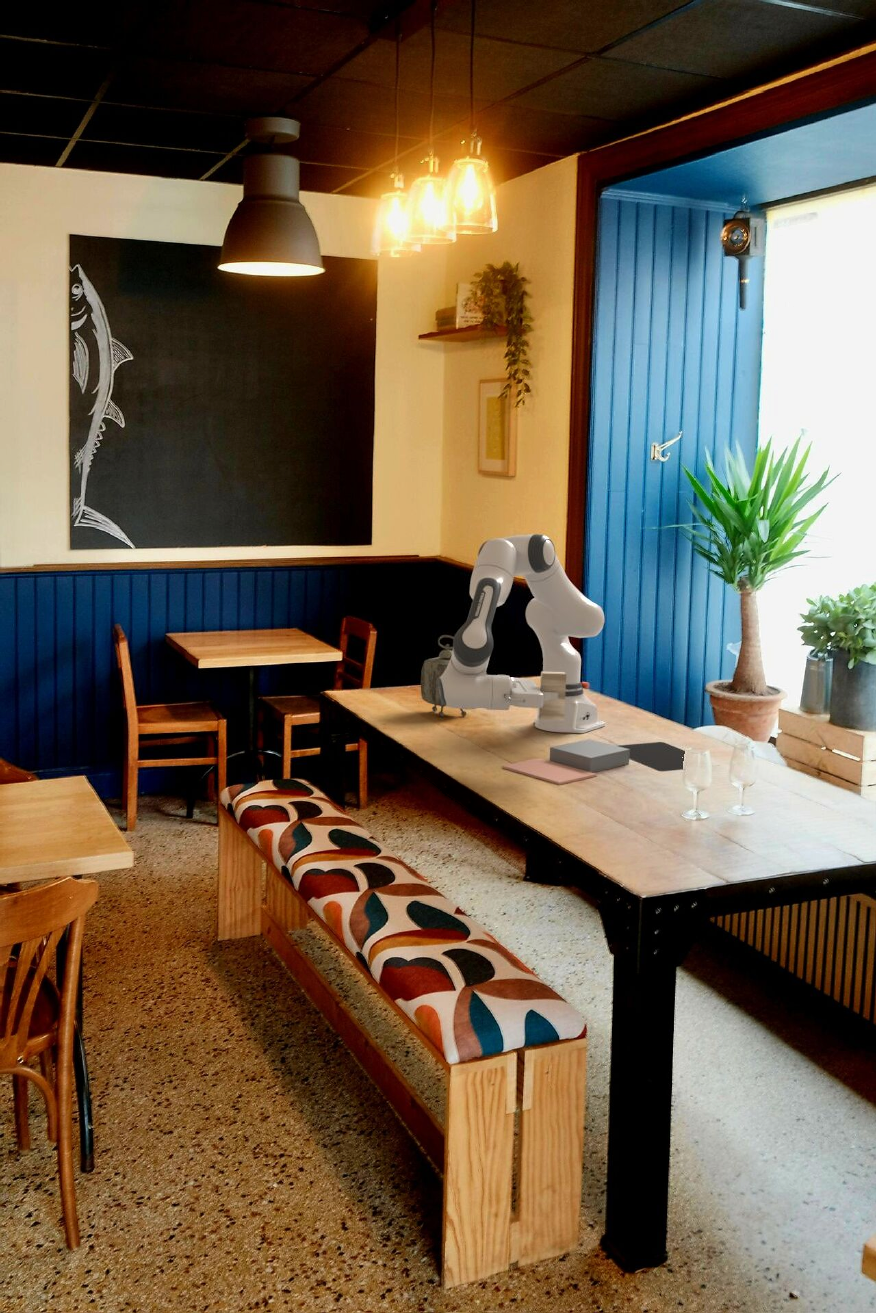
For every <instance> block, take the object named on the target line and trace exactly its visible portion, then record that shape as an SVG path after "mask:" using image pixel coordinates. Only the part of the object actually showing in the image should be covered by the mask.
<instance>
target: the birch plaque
mask: <svg viewBox="0 0 876 1313" xmlns="http://www.w3.org/2000/svg"><path fill="white" fill-rule="evenodd" d="M539 687H540V691H541V692H557V693H558V699H556V700H546V701H543V707H541V708H539V719H540V720H556V721H564V709H565V690H566V673H565V672H543V671H541V672H540V685H539Z"/></svg>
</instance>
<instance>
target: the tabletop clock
mask: <svg viewBox="0 0 876 1313" xmlns="http://www.w3.org/2000/svg"><path fill="white" fill-rule="evenodd" d="M443 638H450V639H452V640H453V639H454V636H452V635H448V634H443V635H440V637H439V638H438V639H437V644H438V646H439V647H441V648H442V649H443V650H441V651H440V652H439V655H438V656H437V657H433V658H428V659H425V660H424V662H423V663H422V664H423V665H422V667H421V674H420V696H421V699H422V700H423V701H424V702H426V703H428V704H430V705H434V706H432V708H431V709H432V711H433V712H437V710H438V707H437V706H439V707H440V711H439V712H438V716H439V717H443V716H444V711H443V710H444V708H445V707H447V706H445V705H443V704H442V702H441V700H440V698H439V693H438V679H439V677H441V676H442V674H443V673H444V671H445V670H446V668H447V666H448V664H449V661H450V659H451V656H452V650H453V646H450V644H448V643H447V644H445V645H442V644H441V643H440V640H442V639H443ZM447 708H448V707H447ZM459 710H460V711H461V713H460V715H461V716H462V717H465V716H466V715H467V711H465V710H464V709H459Z"/></svg>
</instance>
